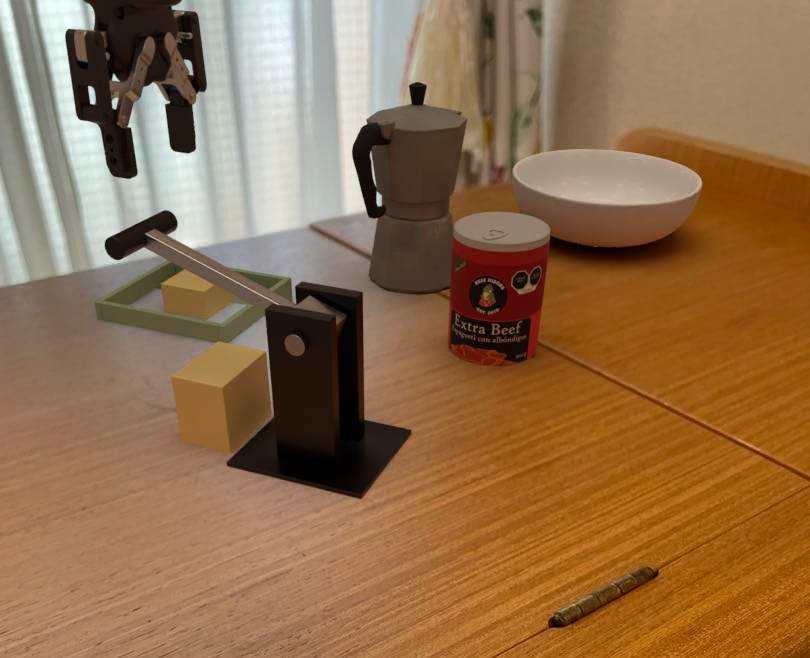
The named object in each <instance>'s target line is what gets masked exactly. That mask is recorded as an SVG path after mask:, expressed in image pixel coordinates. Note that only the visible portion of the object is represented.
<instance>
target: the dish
mask: <svg viewBox="0 0 810 658" xmlns="http://www.w3.org/2000/svg"><path fill="white" fill-rule="evenodd" d="M226 267H227V268H229V269H231V270H233V271H235V272H237V273H239V274H240V275H242V276H244V277H246V278H248V279H250V280H252V281H254V282H255V283H257V284H259V285H261V286H263V287H265V288H267V289H269V290H271V291H272V292H274V293H276V294H278V295H280V296H282V297H284V298H286V299H287V300H289V301H291V302H293V303H294V301H293V284H292V277H288V276H282V275H277V274H270V273H265V272H258V271H254V270H253V271H252V270H247V269H241V268H236V267H229V266H226ZM183 270H185V269H184V268H182V267H180V266H178V265H176V264H174V263H172V262H170V261H169V260H167V259H166V260H165V261H163V262H162V263H160V264H158V265H156V266H154V267H152V268H151V269H150V270H147V271H145V272H144V273H143V274H141V275H138V276H137V277H136V278H134V279H132V280H130V281H128V282H127V283H125V284H122V285H121V286H120V287H118V288H115V289H114V290H112V291H111V292H109V293H107V294H105V295H104V296H102V297H100V298H99V299H97V300H95V301H94V302H93V303H94V308H95V312H96V317H97V320H100V321H105V322H111V323H115V324H120V325H125V326H130V327H135V328H141V329H145V330H151V331H154V332H159V333H164V334H168V335H169V334H170V335H176V336H180V337H185V338H189V339H195V340H200V341H204V342H209V343H214V344H215V343H216V342H223V343H228V344H230V342H232V341H233V340H234V339H235V338H237V337H238V336H239V335H241V334H242V333H243V332H245V331H246V330H248V329H249V328H250V327H252V326H253V325H254V324H255V323H257V322H258V321H259V320H260V319H262V318H263V317H265V312H264V311H262V310H260V309H258V308H256V307H255V306H253V305H251V304H249V303H247V302H245V301H243V300H241V299H240V298H238V297H236V296H234V295H232V297H233V303H232V304H238V305H243V307H242V308H241V309H239V310H238V311H236V312H235V313H234V314H232V315H231V316H229V317H228V318H227V319H225V320H224V321H222V322H221V323H220V322H216V321H210V320H207V319H202V318H197V317H191V316H186V315H181V314H176V313H171V312H165V311H158V310H154V309H149V308H143V307H138V306H133V305H131V304H133V303H134V302H136V301H138V300H139V299H140V298H141V299H142V297H144V296H146V295H147V294H149V293H151V292H152V291H154V290H156V289H157V290H161V291H162V289H161V283H163V282H164V281H166V280H168V279H170V278H171V277H173V276H175V275H176V274H178V273H180V272H181V271H183Z"/></svg>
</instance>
